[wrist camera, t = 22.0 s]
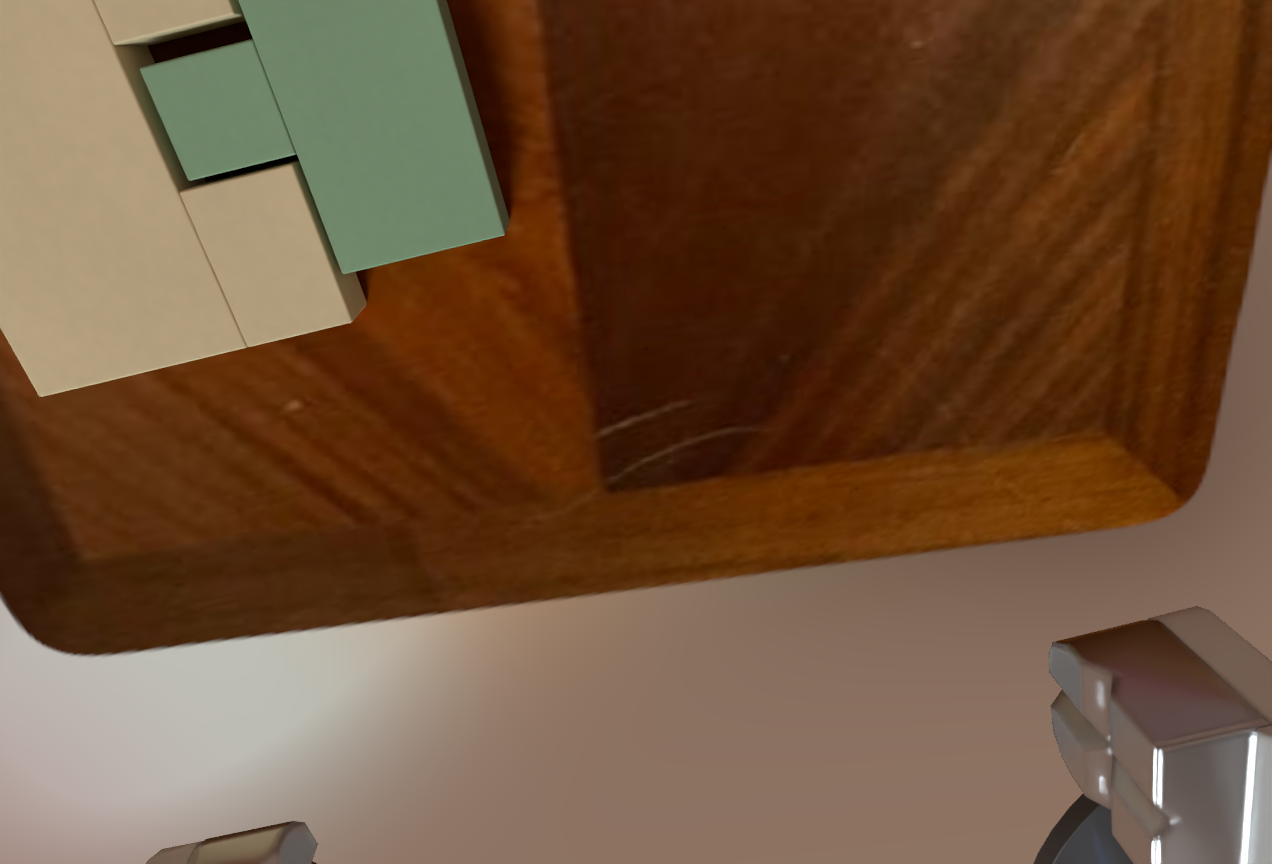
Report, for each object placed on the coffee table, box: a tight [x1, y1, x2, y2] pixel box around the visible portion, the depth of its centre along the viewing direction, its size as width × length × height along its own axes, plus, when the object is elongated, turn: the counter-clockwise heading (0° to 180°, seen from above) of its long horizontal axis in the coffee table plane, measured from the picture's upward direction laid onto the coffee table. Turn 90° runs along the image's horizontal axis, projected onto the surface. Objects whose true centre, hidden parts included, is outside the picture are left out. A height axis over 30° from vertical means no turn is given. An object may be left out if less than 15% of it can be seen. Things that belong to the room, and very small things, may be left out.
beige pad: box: [0, 0, 367, 397], centre depth 29 cm, size 16×12×2 cm
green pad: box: [140, 0, 510, 274], centre depth 29 cm, size 12×10×2 cm
